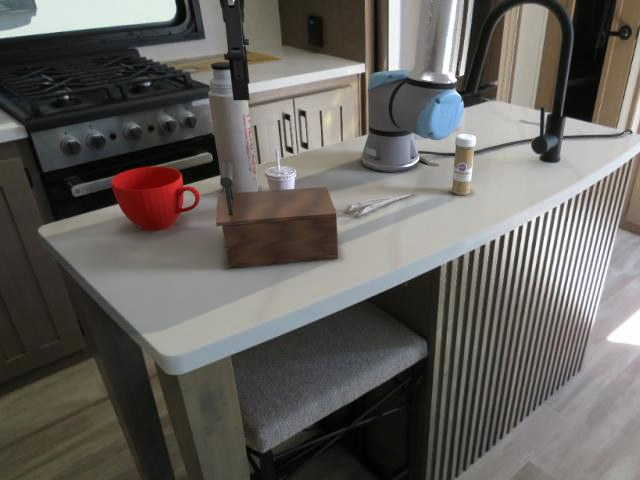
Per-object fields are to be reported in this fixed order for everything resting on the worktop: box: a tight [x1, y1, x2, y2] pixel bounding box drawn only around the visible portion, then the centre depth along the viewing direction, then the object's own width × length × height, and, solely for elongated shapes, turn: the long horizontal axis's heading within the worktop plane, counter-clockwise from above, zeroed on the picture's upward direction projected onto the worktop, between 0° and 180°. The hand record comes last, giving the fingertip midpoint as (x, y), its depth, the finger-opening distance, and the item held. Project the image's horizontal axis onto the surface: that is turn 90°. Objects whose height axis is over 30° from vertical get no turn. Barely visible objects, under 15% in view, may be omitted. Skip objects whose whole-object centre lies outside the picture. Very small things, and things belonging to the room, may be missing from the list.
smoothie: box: [264, 148, 297, 191], centre depth 118 cm, size 6×6×14 cm
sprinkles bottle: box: [451, 133, 477, 196], centre depth 131 cm, size 5×5×14 cm
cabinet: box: [221, 217, 339, 269], centre depth 106 cm, size 20×13×8 cm, turn 104°
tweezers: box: [346, 193, 412, 218], centre depth 127 cm, size 17×5×2 cm, turn 132°
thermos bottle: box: [207, 61, 259, 194], centre depth 124 cm, size 8×8×28 cm
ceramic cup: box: [110, 166, 201, 232], centre depth 113 cm, size 13×17×10 cm
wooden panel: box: [215, 162, 337, 227], centre depth 102 cm, size 21×13×8 cm, turn 104°
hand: (241, 91), depth 103 cm, fingers open, 13 cm apart
